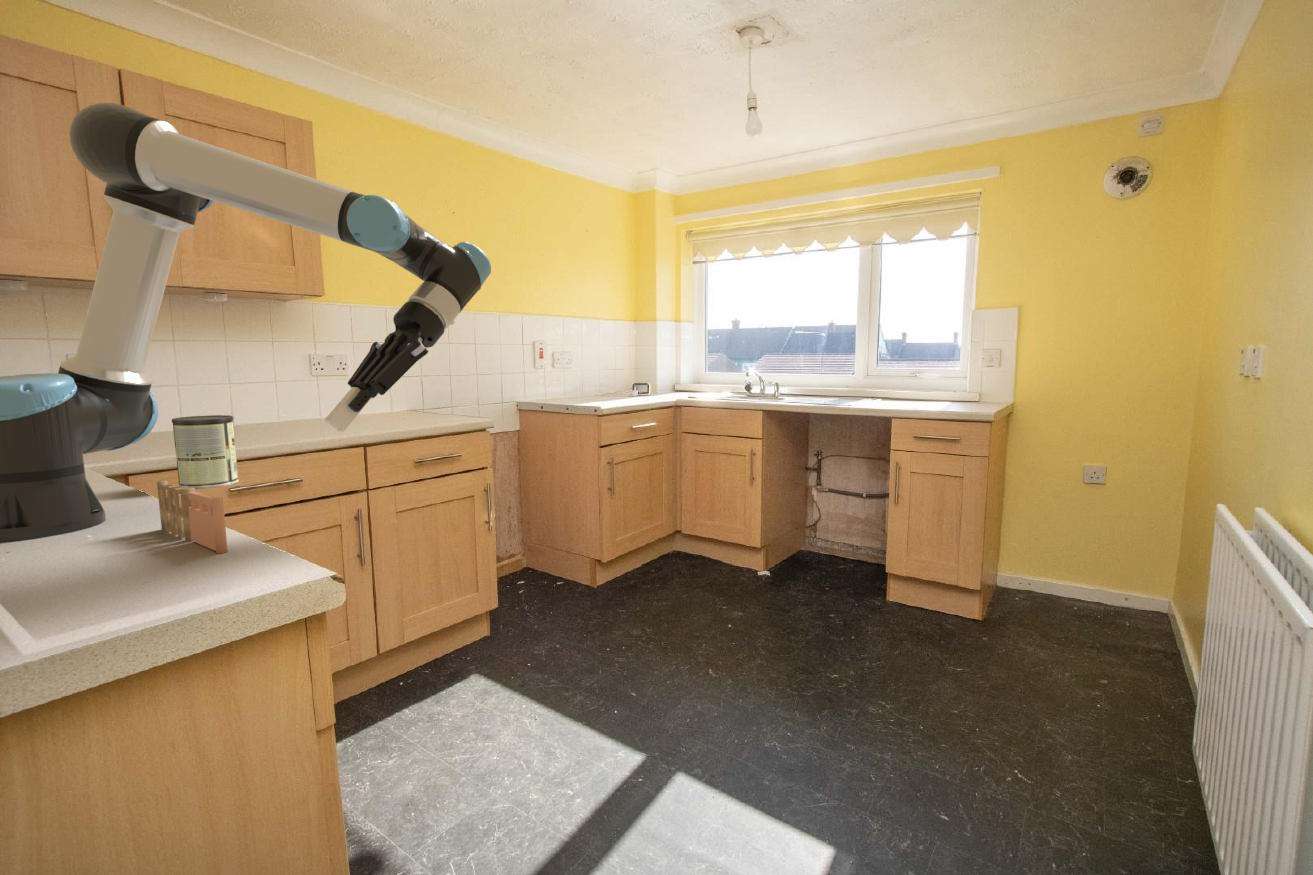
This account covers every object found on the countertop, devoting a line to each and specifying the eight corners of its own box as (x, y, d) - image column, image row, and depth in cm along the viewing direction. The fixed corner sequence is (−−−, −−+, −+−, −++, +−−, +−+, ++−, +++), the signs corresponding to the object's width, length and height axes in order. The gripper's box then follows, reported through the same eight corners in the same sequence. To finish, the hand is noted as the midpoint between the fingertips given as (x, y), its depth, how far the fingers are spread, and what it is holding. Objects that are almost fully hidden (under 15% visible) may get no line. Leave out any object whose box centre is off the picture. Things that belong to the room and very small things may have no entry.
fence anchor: (159, 532, 91) (153, 481, 90) (172, 529, 92) (167, 480, 91) (187, 544, 84) (182, 490, 83) (201, 542, 86) (196, 488, 85)
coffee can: (171, 485, 129) (165, 417, 127) (229, 478, 137) (223, 414, 135) (186, 491, 123) (179, 420, 121) (246, 483, 130) (240, 416, 129)
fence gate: (190, 542, 84) (185, 490, 83) (200, 540, 85) (196, 489, 84) (218, 554, 79) (213, 499, 78) (229, 551, 80) (224, 497, 79)
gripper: (465, 331, 102) (376, 444, 91) (418, 334, 110) (331, 439, 98) (434, 295, 97) (336, 410, 86) (388, 301, 105) (292, 408, 93)
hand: (334, 425), depth 92 cm, fingers closed
